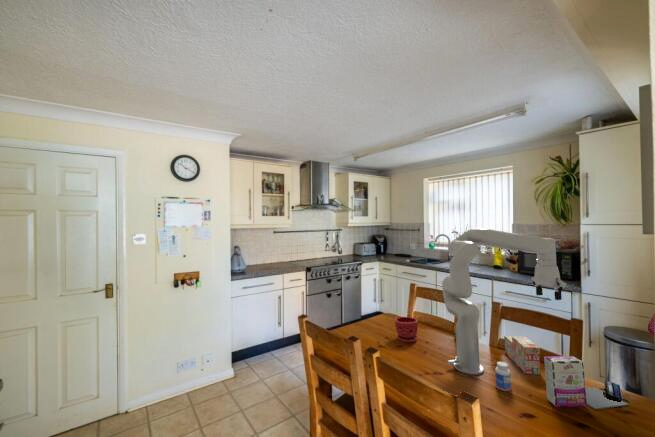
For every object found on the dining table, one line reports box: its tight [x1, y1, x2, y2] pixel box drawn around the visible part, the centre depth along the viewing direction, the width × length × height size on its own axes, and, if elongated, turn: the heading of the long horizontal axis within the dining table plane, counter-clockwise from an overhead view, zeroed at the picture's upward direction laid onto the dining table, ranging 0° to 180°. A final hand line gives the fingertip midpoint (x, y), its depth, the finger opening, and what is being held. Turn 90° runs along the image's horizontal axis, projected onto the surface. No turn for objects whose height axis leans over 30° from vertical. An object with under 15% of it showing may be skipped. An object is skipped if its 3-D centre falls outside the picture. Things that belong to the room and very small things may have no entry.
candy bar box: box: [543, 355, 588, 408], centre depth 105 cm, size 11×5×16 cm, turn 87°
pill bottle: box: [494, 361, 512, 392], centre depth 115 cm, size 6×5×10 cm
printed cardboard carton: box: [503, 335, 541, 376], centre depth 135 cm, size 21×6×12 cm, turn 169°
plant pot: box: [394, 316, 419, 343], centre depth 167 cm, size 13×13×12 cm
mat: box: [585, 387, 629, 410], centre depth 107 cm, size 14×11×1 cm
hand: (548, 297), depth 138 cm, fingers open, 9 cm apart
